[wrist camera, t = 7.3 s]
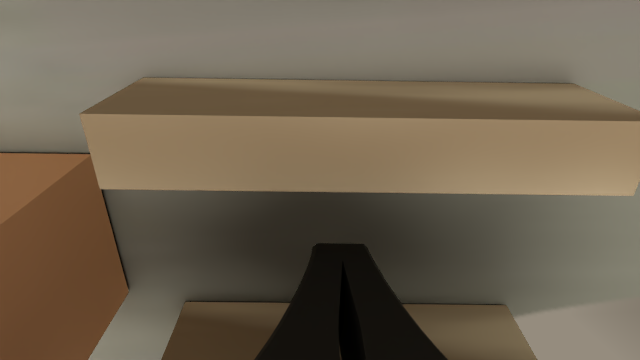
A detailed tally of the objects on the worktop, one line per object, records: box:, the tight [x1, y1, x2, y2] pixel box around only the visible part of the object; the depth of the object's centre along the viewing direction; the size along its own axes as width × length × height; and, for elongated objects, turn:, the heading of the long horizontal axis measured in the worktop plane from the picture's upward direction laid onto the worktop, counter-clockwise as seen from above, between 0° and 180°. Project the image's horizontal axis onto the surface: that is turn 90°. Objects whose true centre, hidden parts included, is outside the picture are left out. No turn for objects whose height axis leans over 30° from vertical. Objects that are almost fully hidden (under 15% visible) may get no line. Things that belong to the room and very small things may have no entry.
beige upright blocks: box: [80, 78, 640, 360], centre depth 11 cm, size 9×11×3 cm
